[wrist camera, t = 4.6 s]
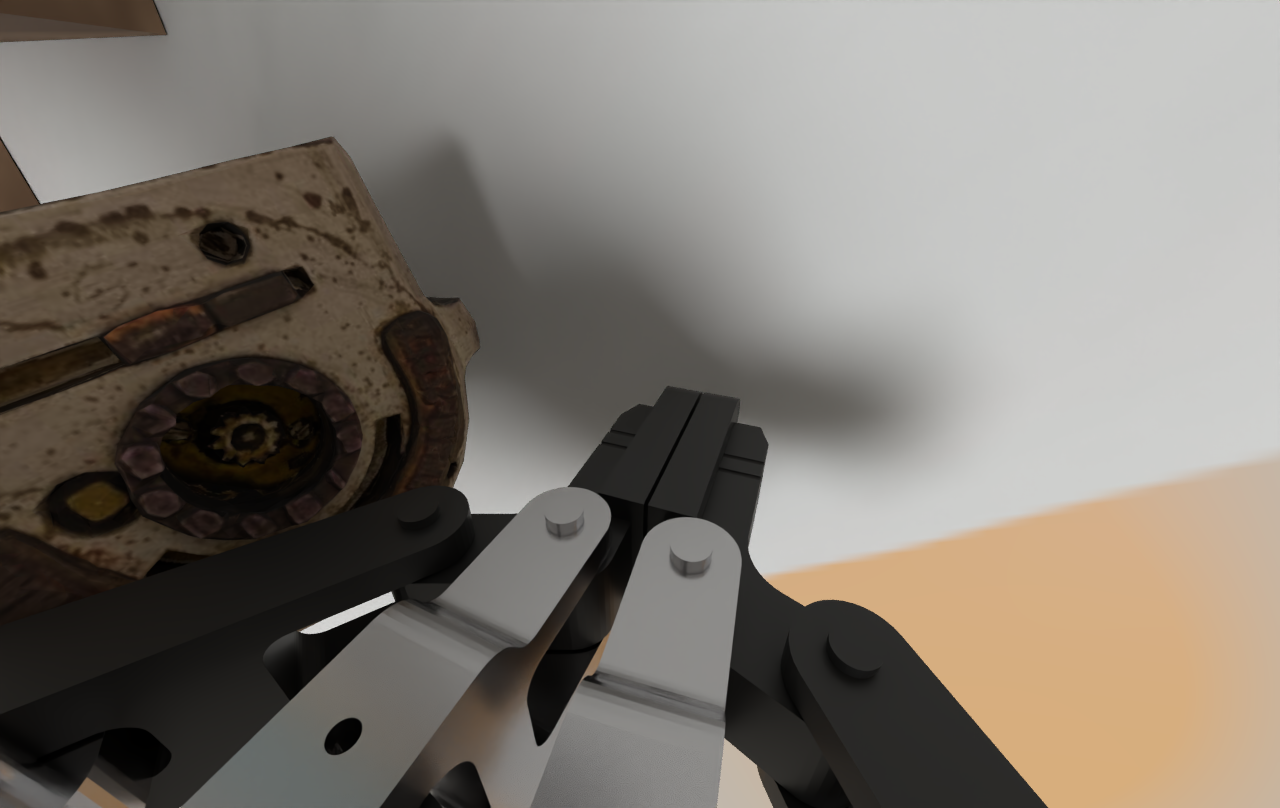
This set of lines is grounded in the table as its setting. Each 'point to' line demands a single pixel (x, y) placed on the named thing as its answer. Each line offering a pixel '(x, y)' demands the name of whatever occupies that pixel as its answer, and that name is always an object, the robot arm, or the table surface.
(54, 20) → the bracket
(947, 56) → the table surface
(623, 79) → the table surface
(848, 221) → the table surface
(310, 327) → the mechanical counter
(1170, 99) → the table surface
